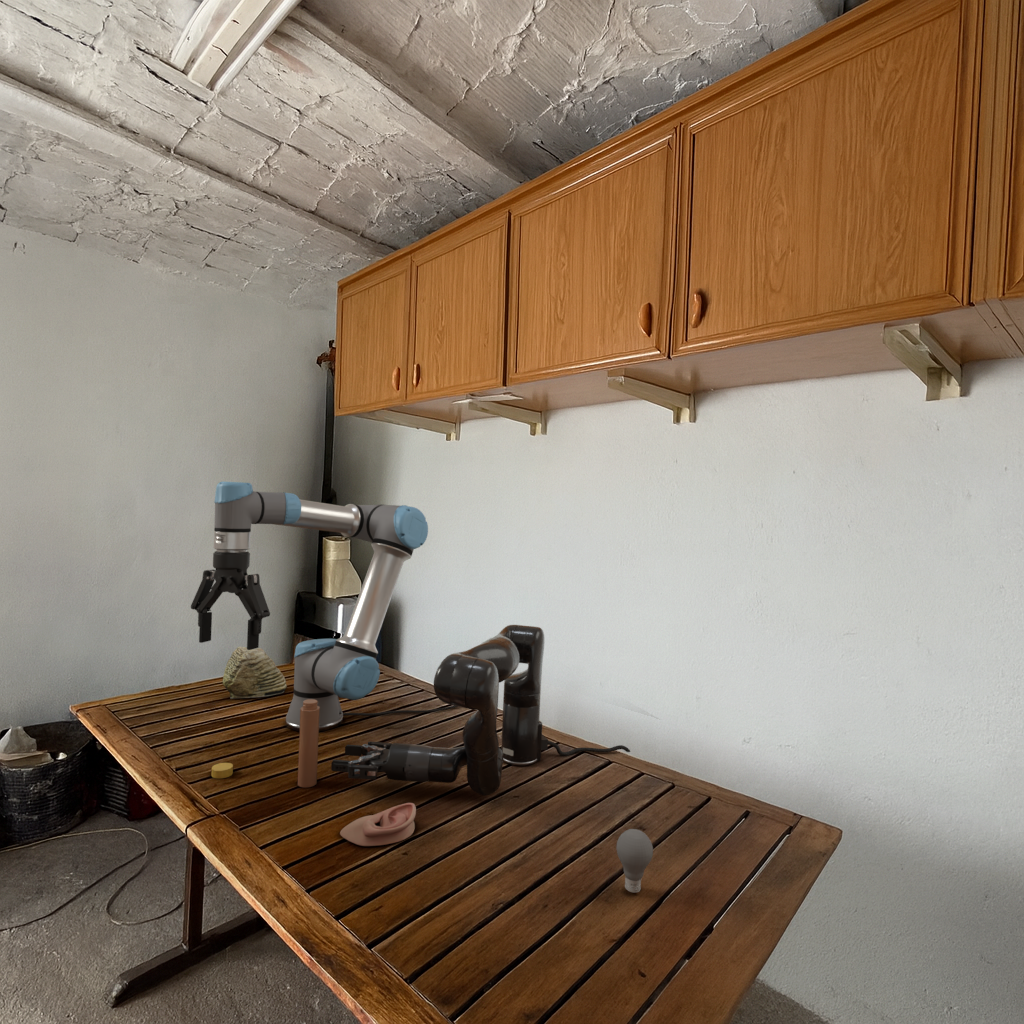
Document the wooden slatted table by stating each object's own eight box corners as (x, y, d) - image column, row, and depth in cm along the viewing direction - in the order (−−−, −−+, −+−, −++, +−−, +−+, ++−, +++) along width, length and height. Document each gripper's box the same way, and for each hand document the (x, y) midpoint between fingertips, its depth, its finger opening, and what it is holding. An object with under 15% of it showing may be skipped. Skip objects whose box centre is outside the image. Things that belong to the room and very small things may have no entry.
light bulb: (610, 879, 108) (613, 822, 108) (644, 879, 109) (647, 822, 109) (619, 902, 102) (622, 840, 102) (655, 901, 103) (658, 840, 103)
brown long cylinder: (306, 789, 137) (309, 705, 137) (293, 784, 139) (296, 701, 139) (320, 782, 140) (323, 700, 140) (308, 777, 142) (311, 697, 142)
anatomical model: (332, 820, 116) (360, 792, 128) (332, 841, 116) (359, 811, 128) (400, 830, 114) (422, 801, 125) (400, 852, 114) (421, 821, 125)
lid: (230, 768, 145) (231, 761, 145) (234, 776, 142) (234, 768, 142) (210, 772, 143) (210, 764, 143) (212, 780, 139) (213, 772, 139)
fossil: (218, 695, 195) (220, 647, 195) (278, 685, 208) (279, 640, 207) (228, 703, 189) (230, 653, 188) (289, 692, 201) (290, 645, 201)
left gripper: (175, 547, 142) (172, 641, 143) (264, 555, 134) (261, 655, 134) (202, 546, 149) (199, 635, 150) (288, 553, 141) (285, 648, 141)
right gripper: (419, 733, 145) (350, 728, 147) (403, 758, 131) (327, 753, 132) (417, 766, 145) (348, 761, 147) (402, 794, 131) (326, 788, 132)
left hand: (228, 645), depth 142 cm, fingers open, 13 cm apart
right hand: (338, 757), depth 140 cm, fingers open, 8 cm apart
